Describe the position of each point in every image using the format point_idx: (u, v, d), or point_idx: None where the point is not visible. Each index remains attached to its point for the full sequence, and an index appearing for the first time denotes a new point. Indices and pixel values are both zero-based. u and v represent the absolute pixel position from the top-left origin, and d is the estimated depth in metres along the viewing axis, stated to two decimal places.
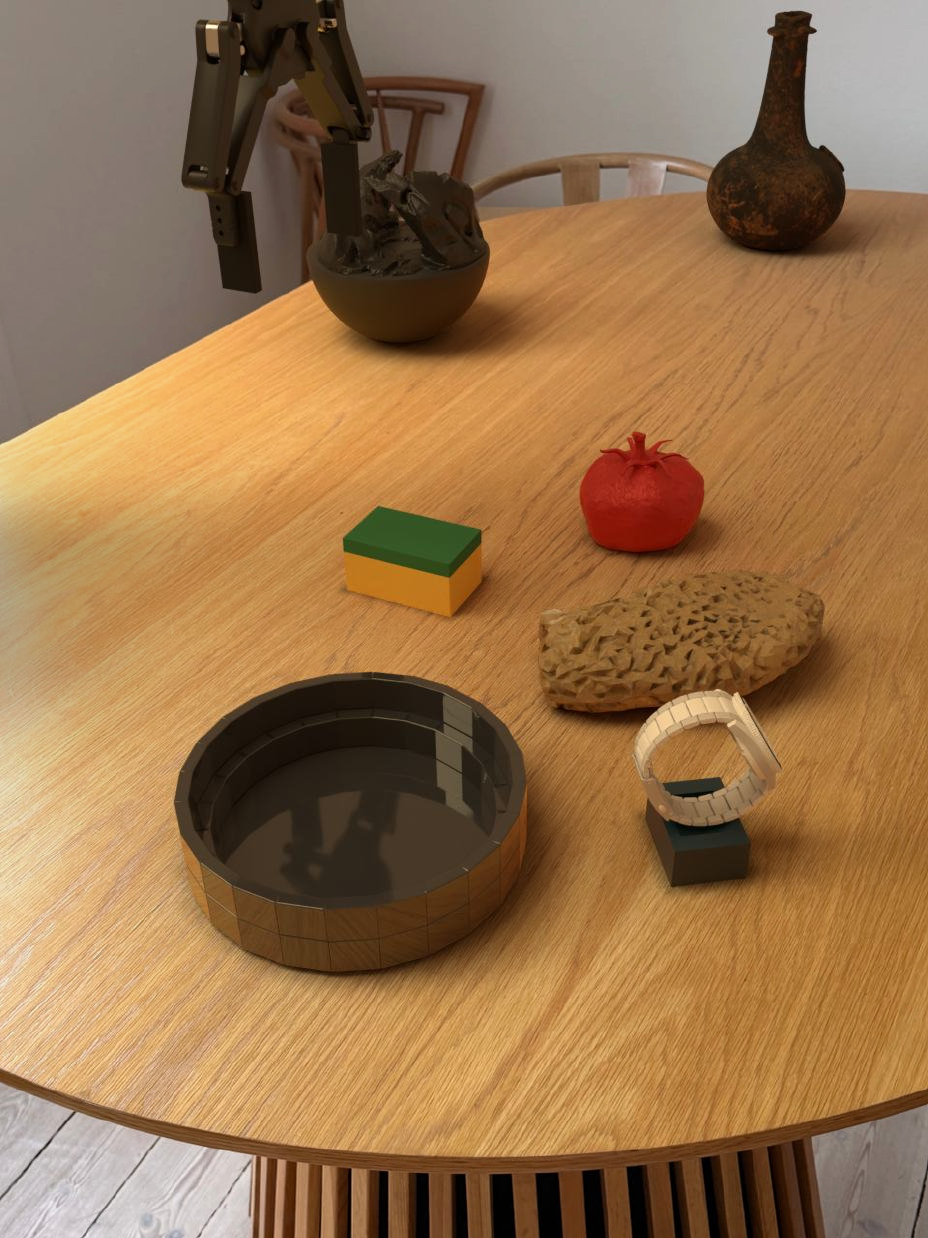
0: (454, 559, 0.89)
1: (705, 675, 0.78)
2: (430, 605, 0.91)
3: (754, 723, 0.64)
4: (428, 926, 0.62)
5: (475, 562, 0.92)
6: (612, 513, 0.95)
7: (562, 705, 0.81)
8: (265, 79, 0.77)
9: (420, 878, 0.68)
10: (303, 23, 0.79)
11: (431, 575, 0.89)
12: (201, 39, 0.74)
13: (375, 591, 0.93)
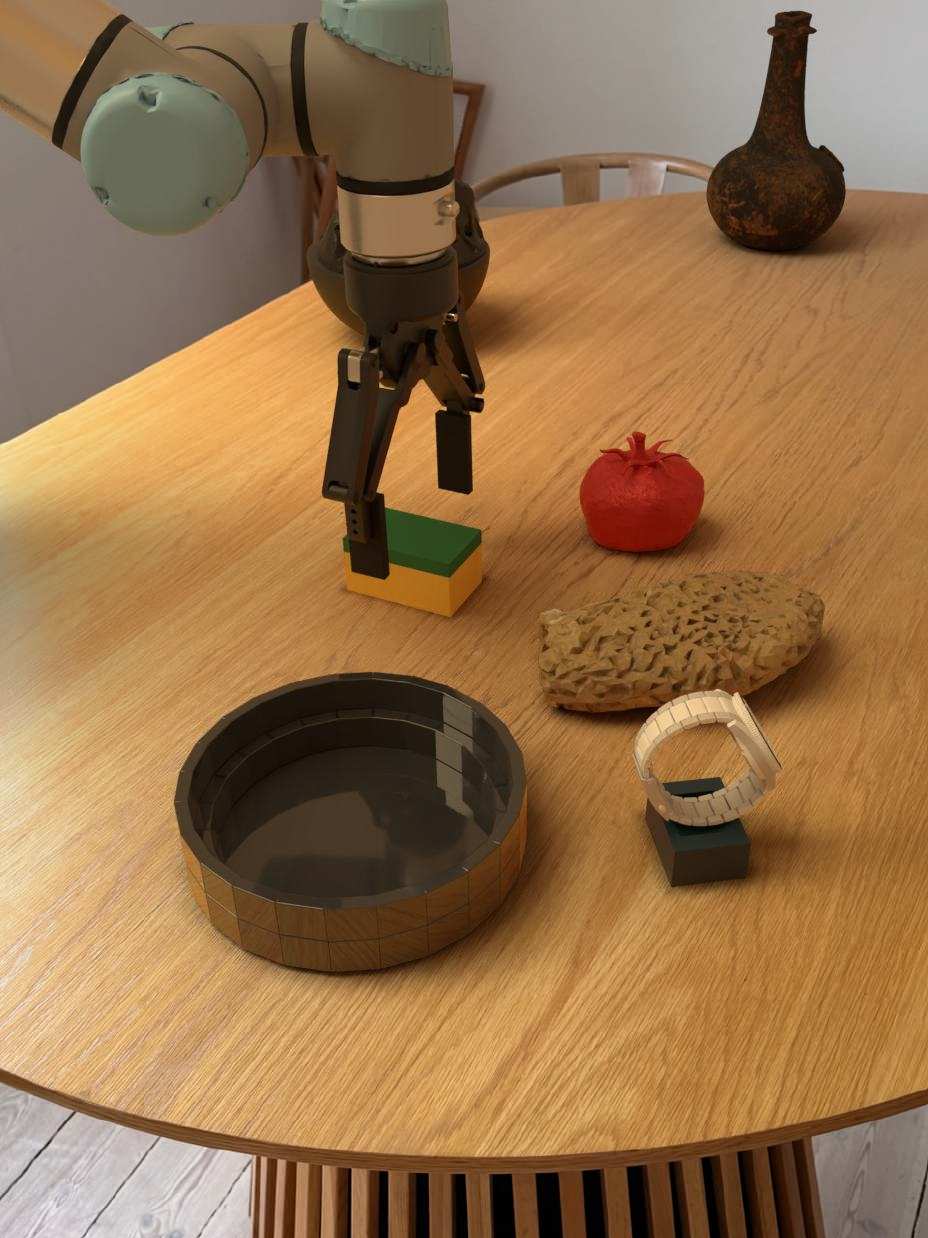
0: (454, 559, 0.89)
1: (705, 674, 0.78)
2: (430, 605, 0.91)
3: (754, 723, 0.64)
4: (428, 926, 0.62)
5: (475, 562, 0.92)
6: (612, 513, 0.95)
7: (562, 705, 0.81)
8: (399, 393, 0.81)
9: (420, 878, 0.68)
10: (431, 331, 0.83)
11: (431, 575, 0.89)
12: (343, 368, 0.78)
13: (375, 591, 0.93)
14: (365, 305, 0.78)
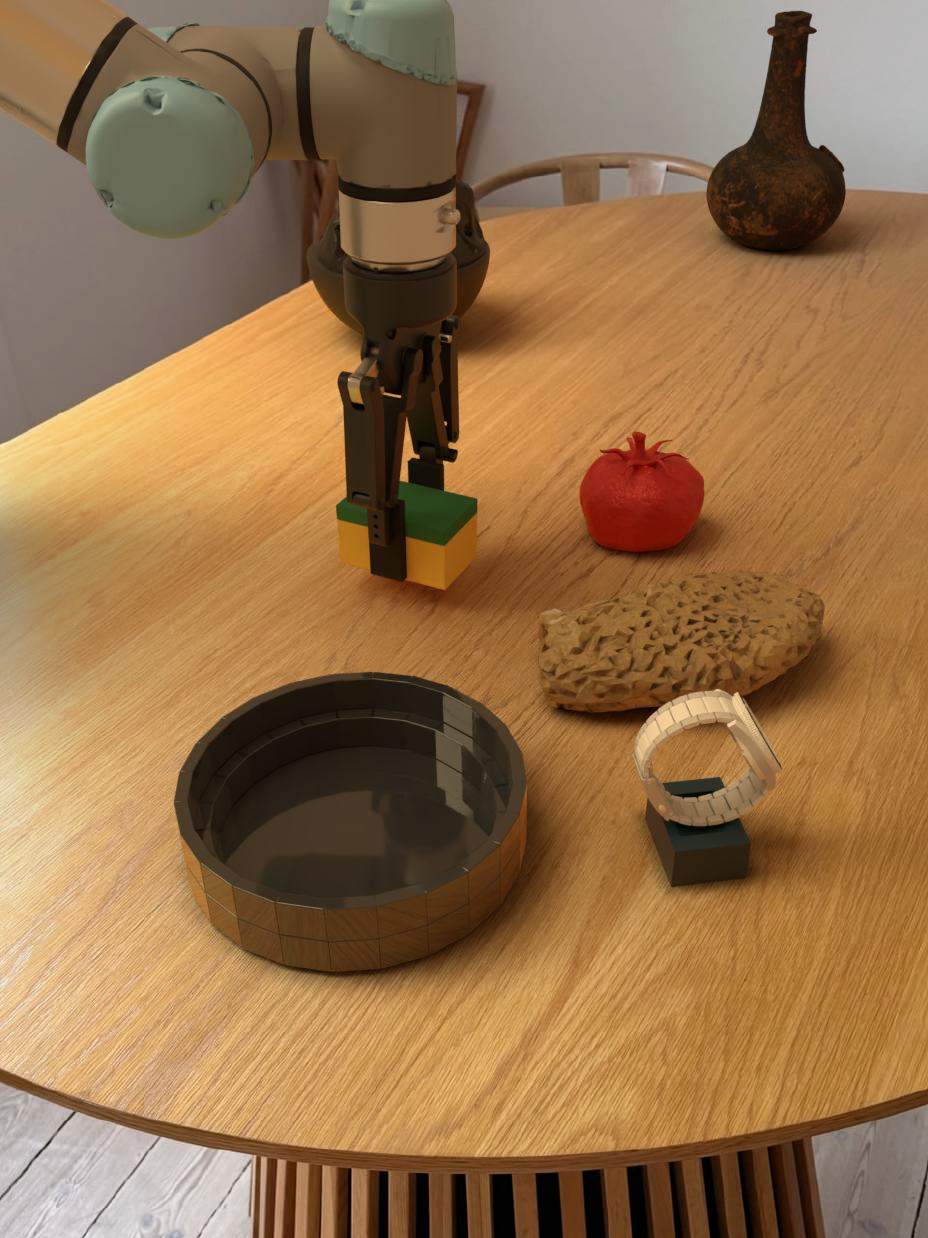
0: (449, 527, 0.87)
1: (705, 675, 0.78)
2: (424, 574, 0.89)
3: (754, 723, 0.64)
4: (428, 926, 0.62)
5: (471, 532, 0.91)
6: (612, 513, 0.95)
7: (562, 705, 0.81)
8: (403, 404, 0.82)
9: (420, 878, 0.68)
10: (430, 336, 0.83)
11: (425, 543, 0.88)
12: (344, 393, 0.79)
13: (368, 560, 0.91)
14: (364, 310, 0.79)
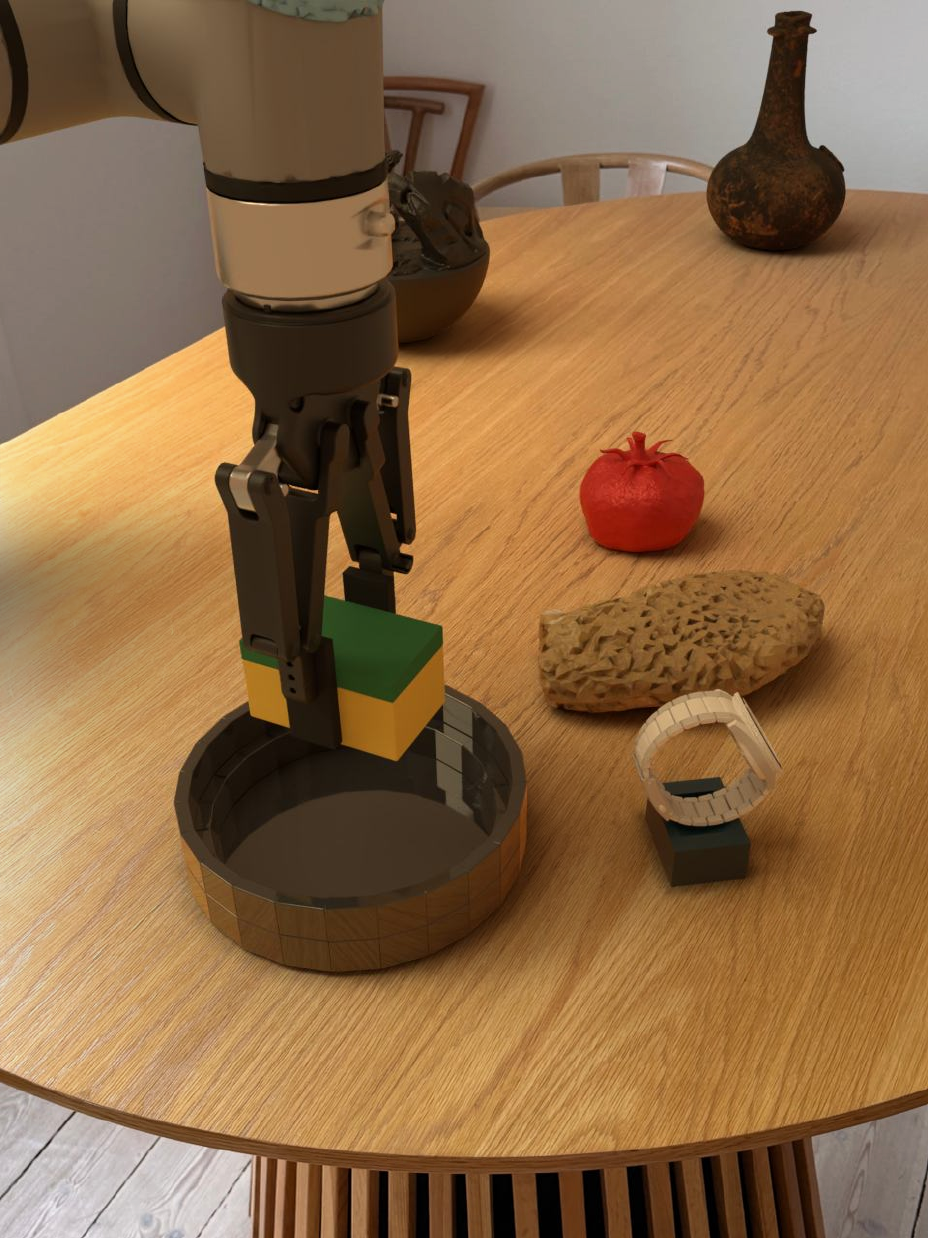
0: (400, 675, 0.60)
1: (705, 675, 0.78)
2: (366, 738, 0.62)
3: (754, 723, 0.64)
4: (428, 926, 0.62)
5: (434, 673, 0.64)
6: (612, 513, 0.95)
7: (562, 705, 0.81)
8: (322, 505, 0.55)
9: (420, 878, 0.68)
10: (362, 402, 0.56)
11: (366, 698, 0.60)
12: (227, 495, 0.52)
13: None
14: (253, 370, 0.51)
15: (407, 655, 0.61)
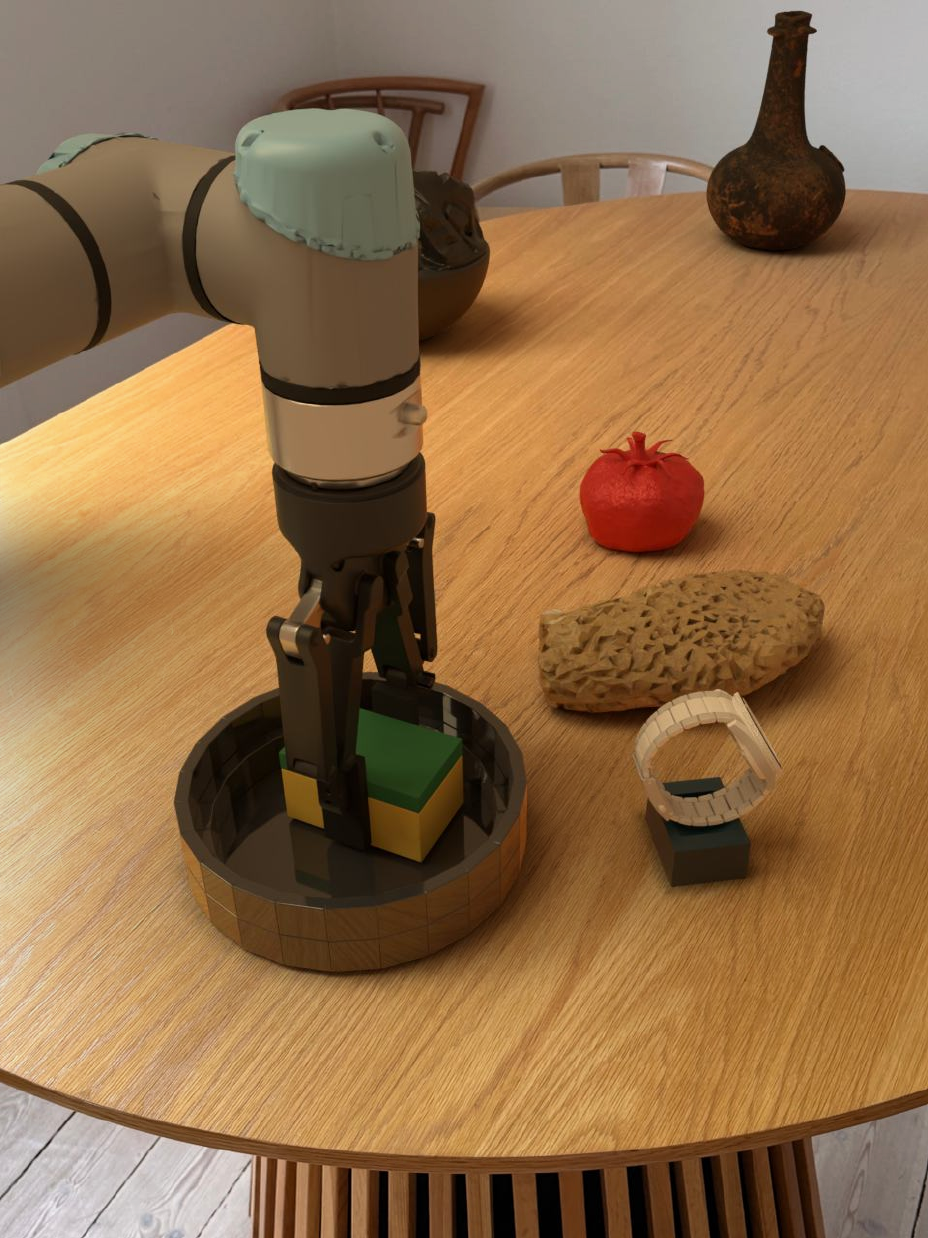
0: (425, 789, 0.67)
1: (705, 674, 0.78)
2: (394, 841, 0.69)
3: (754, 723, 0.64)
4: (428, 926, 0.62)
5: (454, 781, 0.70)
6: (612, 513, 0.95)
7: (562, 705, 0.81)
8: (358, 647, 0.62)
9: (420, 878, 0.68)
10: (393, 552, 0.63)
11: (394, 808, 0.67)
12: (277, 645, 0.59)
13: None
14: (300, 536, 0.58)
15: (431, 769, 0.68)
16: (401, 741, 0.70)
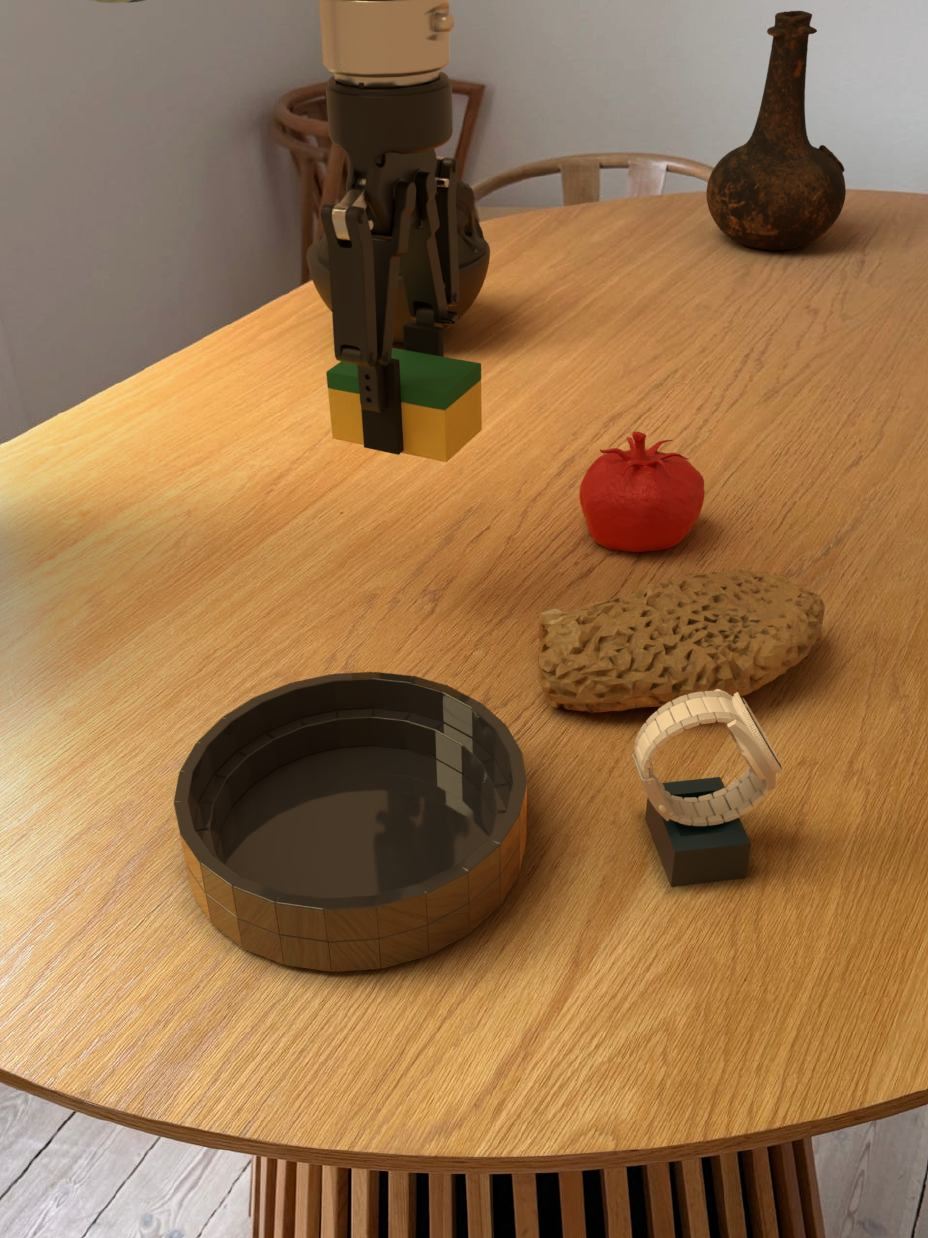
0: (450, 389, 0.79)
1: (705, 675, 0.78)
2: (423, 445, 0.81)
3: (754, 723, 0.64)
4: (428, 926, 0.62)
5: (474, 401, 0.83)
6: (612, 513, 0.95)
7: (562, 705, 0.81)
8: (395, 245, 0.74)
9: (420, 878, 0.68)
10: (424, 172, 0.75)
11: (424, 409, 0.80)
12: (329, 227, 0.71)
13: None
14: (349, 134, 0.71)
15: (455, 378, 0.80)
16: (429, 364, 0.82)
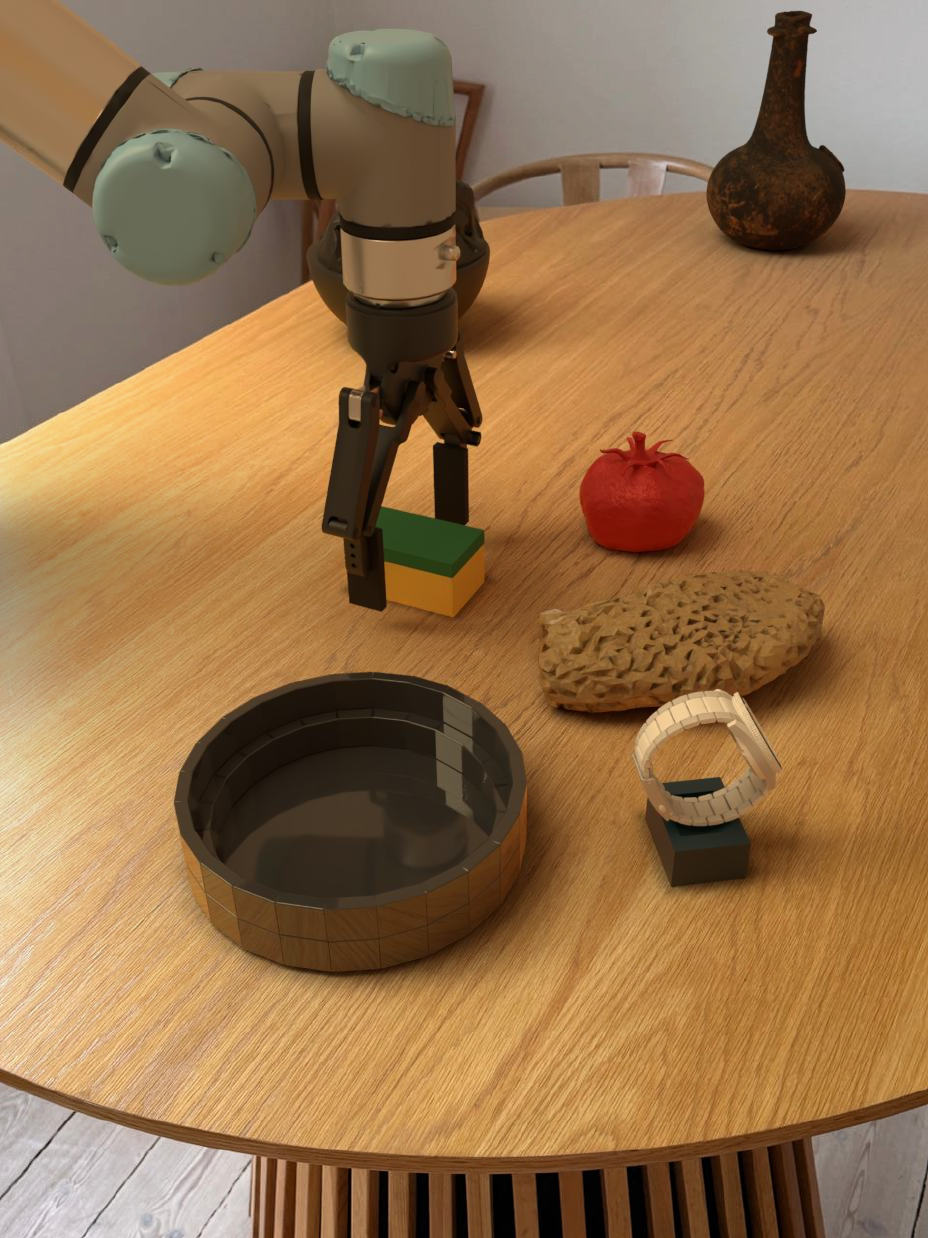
0: (457, 559, 0.88)
1: (705, 675, 0.78)
2: (432, 605, 0.91)
3: (754, 723, 0.64)
4: (428, 926, 0.62)
5: (478, 563, 0.92)
6: (612, 513, 0.95)
7: (562, 705, 0.81)
8: (398, 430, 0.82)
9: (420, 878, 0.68)
10: (430, 370, 0.84)
11: (434, 576, 0.89)
12: (344, 406, 0.79)
13: None
14: (366, 345, 0.80)
15: (461, 547, 0.90)
16: (438, 531, 0.92)
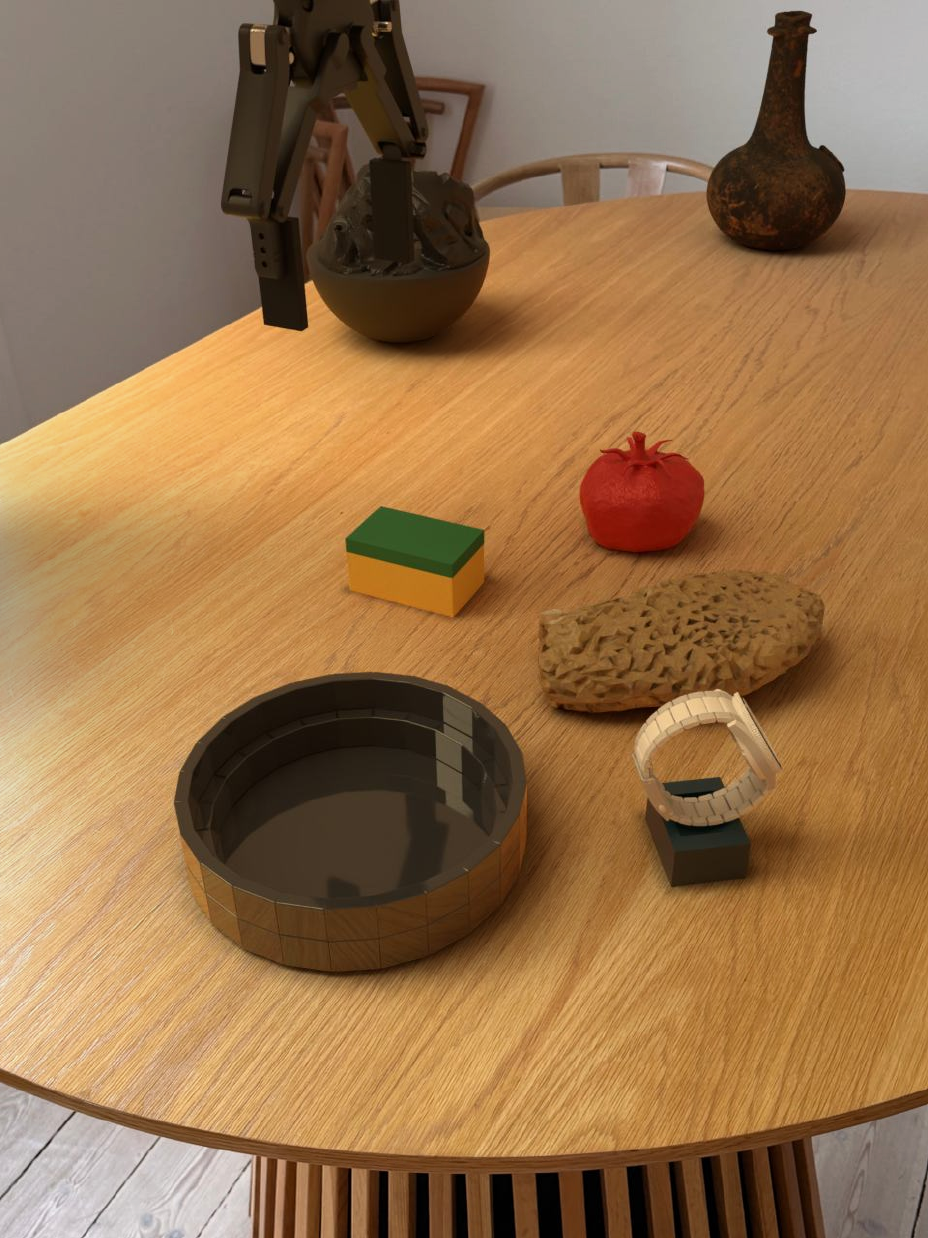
0: (457, 559, 0.88)
1: (705, 675, 0.78)
2: (432, 605, 0.91)
3: (754, 723, 0.64)
4: (428, 926, 0.62)
5: (478, 563, 0.92)
6: (612, 513, 0.95)
7: (562, 705, 0.81)
8: (315, 91, 0.68)
9: (420, 878, 0.68)
10: (357, 27, 0.70)
11: (434, 576, 0.89)
12: (245, 46, 0.65)
13: (378, 591, 0.92)
14: None
15: (461, 547, 0.90)
16: (438, 531, 0.92)
